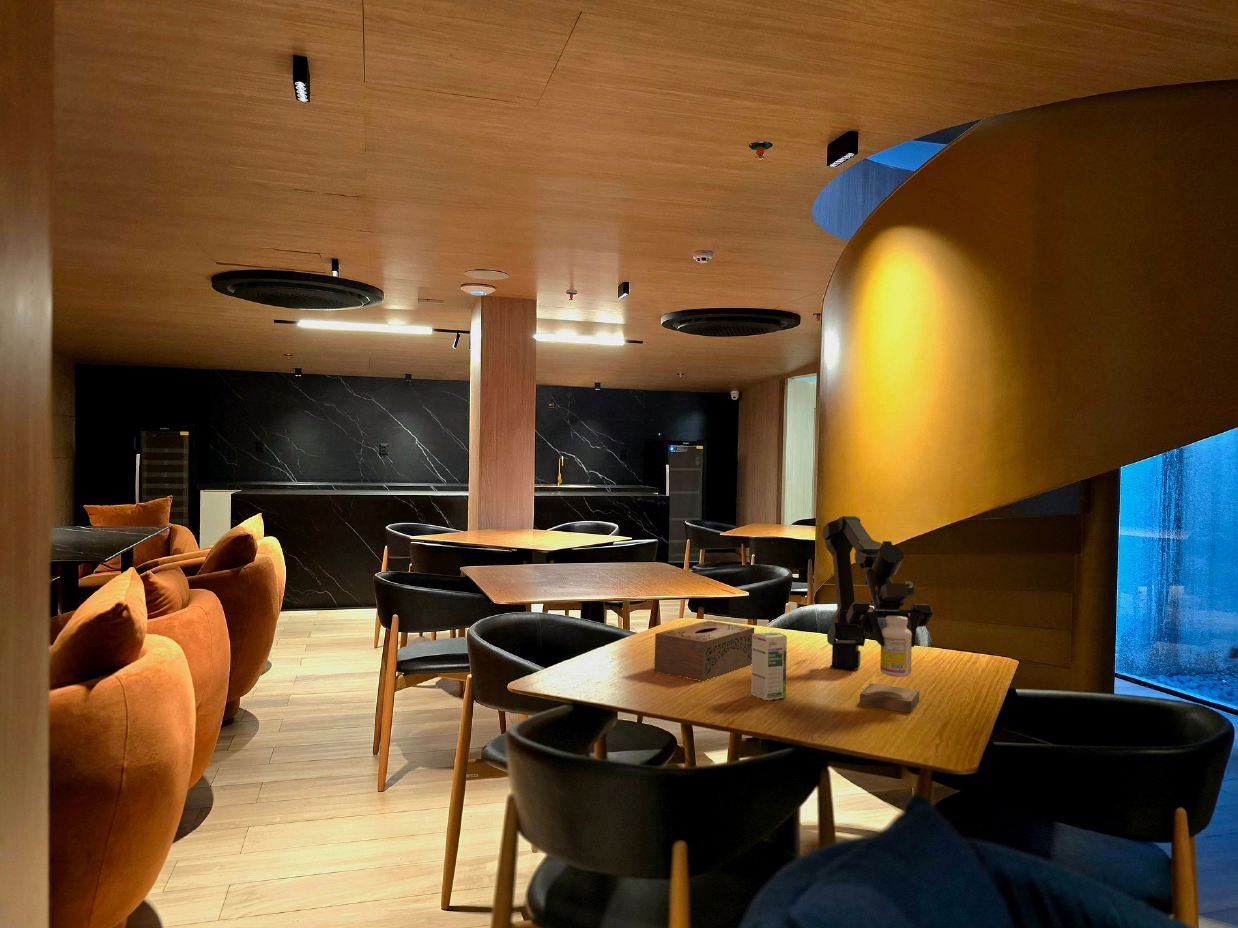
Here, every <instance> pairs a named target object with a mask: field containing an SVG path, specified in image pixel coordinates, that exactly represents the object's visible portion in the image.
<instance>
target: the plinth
mask: <svg viewBox="0 0 1238 928" xmlns="http://www.w3.org/2000/svg"><path fill="white" fill-rule="evenodd" d="M919 702H920V690H919V689H911V688H906V687H899V686H898V687H897V686H893V685H886V684H885V685H884V684H877V683H871V682H870V683H869V684H868V685H867V686H866V687H865V688H864V689H863V690H862V691H861V692H860V693H859V705H860V706H865V707H870V708H877V707H879V708H878V709H884V710H889V709H890V710H891V711H896V712H903V713H910V714H912V713H913V711H914V710H915V708H916V707H917V705H918V704H919Z"/></svg>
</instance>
